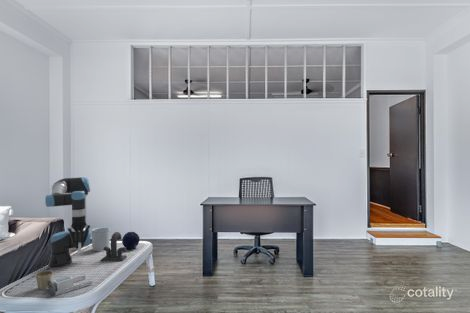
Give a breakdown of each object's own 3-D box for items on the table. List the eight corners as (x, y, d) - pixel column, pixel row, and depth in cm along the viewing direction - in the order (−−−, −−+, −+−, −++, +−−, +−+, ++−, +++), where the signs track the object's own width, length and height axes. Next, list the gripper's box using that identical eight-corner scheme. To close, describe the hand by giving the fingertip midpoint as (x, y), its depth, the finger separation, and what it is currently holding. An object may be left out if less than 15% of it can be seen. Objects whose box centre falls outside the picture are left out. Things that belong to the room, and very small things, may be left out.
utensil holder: (101, 245, 265) (101, 226, 265) (114, 247, 260) (113, 227, 260) (87, 250, 252) (87, 230, 252) (100, 252, 246) (100, 231, 246)
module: (53, 290, 175) (53, 279, 175) (69, 285, 182) (69, 275, 182) (57, 293, 171) (57, 282, 171) (73, 287, 178) (73, 277, 178)
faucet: (131, 254, 240) (130, 229, 240) (123, 260, 224) (122, 234, 224) (109, 254, 240) (109, 230, 240) (100, 261, 224) (99, 235, 224)
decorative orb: (135, 245, 246) (138, 228, 255) (117, 245, 246) (121, 229, 255) (140, 251, 257) (142, 235, 266) (123, 251, 257) (126, 235, 266)
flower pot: (50, 282, 186) (49, 269, 186) (55, 286, 180) (55, 272, 180) (32, 288, 179) (32, 274, 179) (38, 292, 173) (37, 277, 173)
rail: (47, 289, 177) (47, 280, 177) (85, 278, 191) (84, 271, 191) (53, 296, 167) (53, 287, 167) (91, 284, 182) (91, 276, 182)
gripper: (68, 218, 176) (69, 257, 176) (91, 215, 185) (92, 252, 185) (65, 216, 182) (66, 254, 181) (87, 213, 191) (88, 249, 190)
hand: (79, 253), depth 183 cm, fingers closed
